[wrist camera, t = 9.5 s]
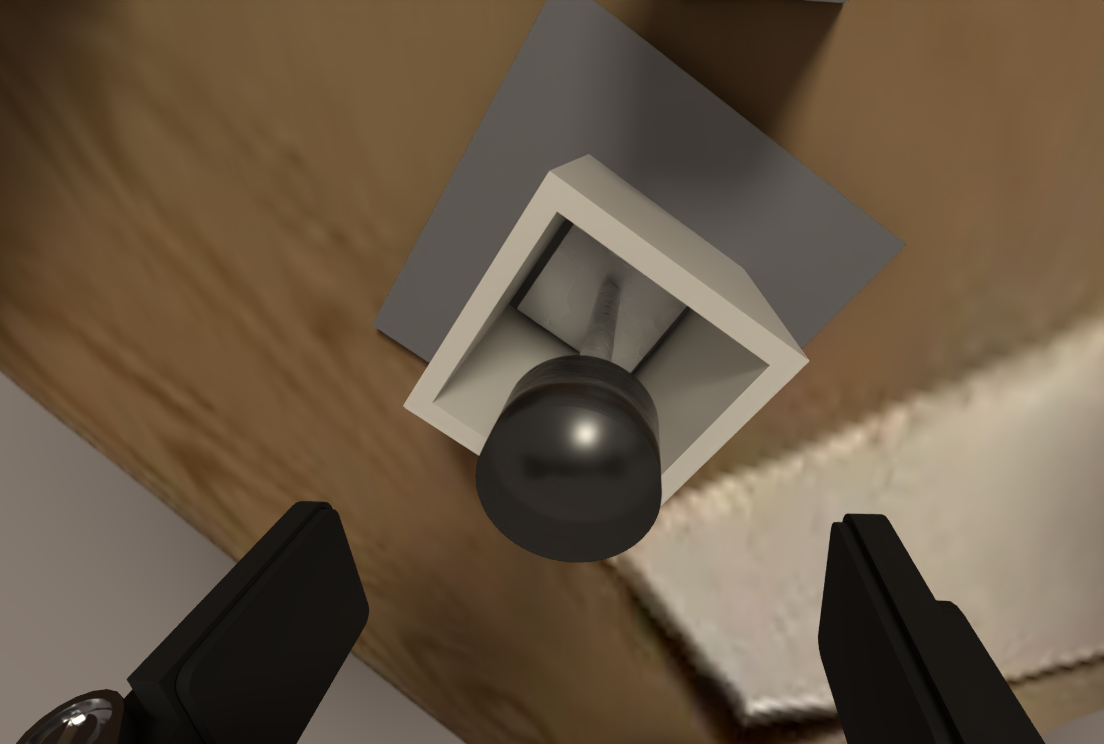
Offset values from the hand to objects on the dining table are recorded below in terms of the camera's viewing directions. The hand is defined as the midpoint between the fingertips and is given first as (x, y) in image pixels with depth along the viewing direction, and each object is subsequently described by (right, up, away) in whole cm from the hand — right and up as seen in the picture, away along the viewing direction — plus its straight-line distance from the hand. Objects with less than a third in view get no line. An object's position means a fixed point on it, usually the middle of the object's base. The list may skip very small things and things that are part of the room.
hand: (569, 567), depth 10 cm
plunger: (+3, +8, +18) cm, 20 cm away
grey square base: (+3, +9, +19) cm, 22 cm away
